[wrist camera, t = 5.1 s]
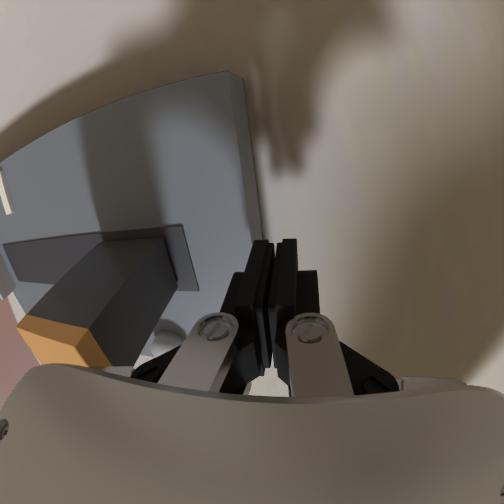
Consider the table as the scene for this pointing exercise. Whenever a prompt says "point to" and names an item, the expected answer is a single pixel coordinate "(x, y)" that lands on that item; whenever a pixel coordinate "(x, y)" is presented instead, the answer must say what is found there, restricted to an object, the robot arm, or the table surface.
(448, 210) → the table surface
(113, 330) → the fader knob
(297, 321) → the robot arm
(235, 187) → the console
